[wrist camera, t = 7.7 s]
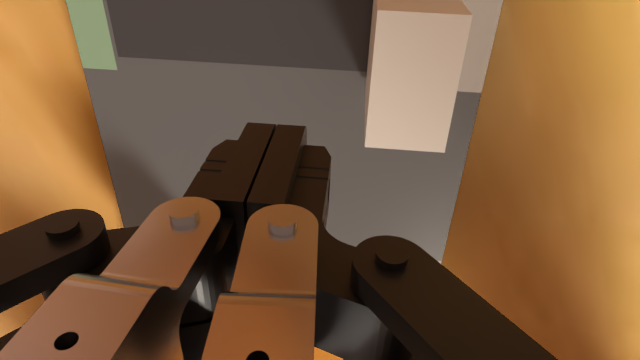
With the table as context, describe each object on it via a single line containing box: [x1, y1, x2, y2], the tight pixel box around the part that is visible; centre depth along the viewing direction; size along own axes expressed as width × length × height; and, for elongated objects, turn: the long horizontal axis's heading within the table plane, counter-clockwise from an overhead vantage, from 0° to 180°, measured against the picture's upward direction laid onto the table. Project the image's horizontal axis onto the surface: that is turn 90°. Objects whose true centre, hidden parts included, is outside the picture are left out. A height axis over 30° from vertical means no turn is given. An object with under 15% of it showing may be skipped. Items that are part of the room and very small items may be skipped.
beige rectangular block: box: [365, 0, 473, 153], centre depth 19 cm, size 3×5×6 cm, turn 179°
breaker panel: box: [66, 0, 503, 264], centre depth 27 cm, size 20×24×2 cm
